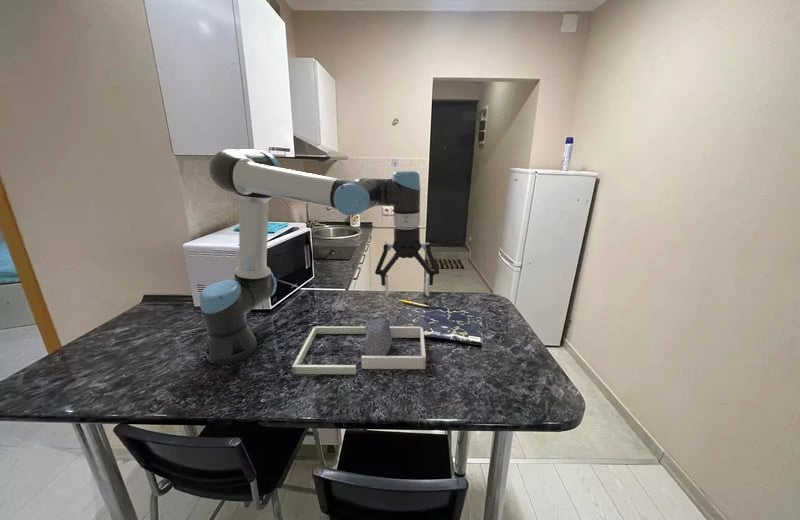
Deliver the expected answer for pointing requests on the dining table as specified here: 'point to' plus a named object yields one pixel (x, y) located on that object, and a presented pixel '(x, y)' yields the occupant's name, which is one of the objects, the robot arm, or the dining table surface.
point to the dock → (399, 361)
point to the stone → (378, 337)
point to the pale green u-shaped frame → (325, 369)
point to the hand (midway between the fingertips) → (407, 294)
